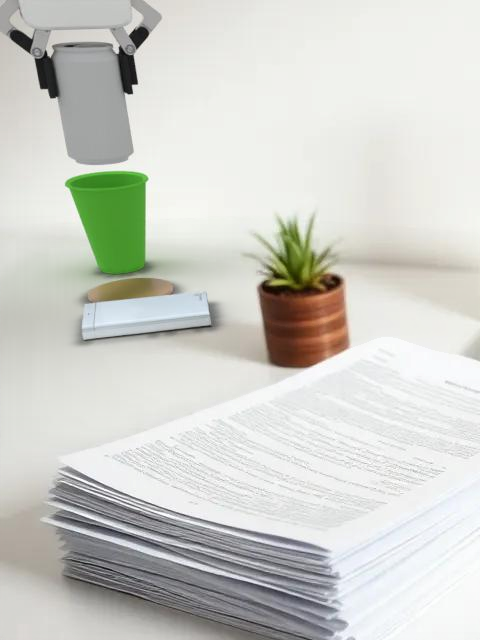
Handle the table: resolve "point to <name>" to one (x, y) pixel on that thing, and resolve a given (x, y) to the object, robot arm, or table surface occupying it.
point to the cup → (113, 217)
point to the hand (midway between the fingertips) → (90, 92)
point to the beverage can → (92, 102)
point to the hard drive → (145, 315)
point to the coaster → (130, 289)
